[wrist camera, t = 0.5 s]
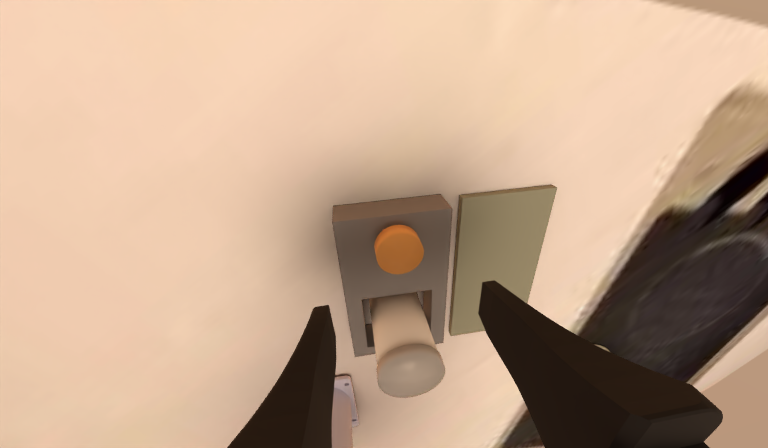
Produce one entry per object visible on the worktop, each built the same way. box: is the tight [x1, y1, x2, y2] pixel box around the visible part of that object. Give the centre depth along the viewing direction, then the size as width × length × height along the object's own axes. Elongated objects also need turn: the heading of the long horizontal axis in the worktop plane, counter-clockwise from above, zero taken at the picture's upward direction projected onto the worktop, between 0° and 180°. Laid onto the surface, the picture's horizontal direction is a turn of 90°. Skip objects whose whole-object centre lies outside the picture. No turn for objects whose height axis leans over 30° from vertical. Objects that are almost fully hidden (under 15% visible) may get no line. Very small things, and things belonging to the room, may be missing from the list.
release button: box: [374, 225, 424, 274], centre depth 19 cm, size 3×3×4 cm
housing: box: [332, 194, 452, 357], centre depth 23 cm, size 14×8×2 cm, turn 3°
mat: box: [449, 185, 557, 336], centre depth 25 cm, size 15×8×1 cm, turn 3°
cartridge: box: [369, 292, 445, 398], centre depth 22 cm, size 5×5×8 cm
